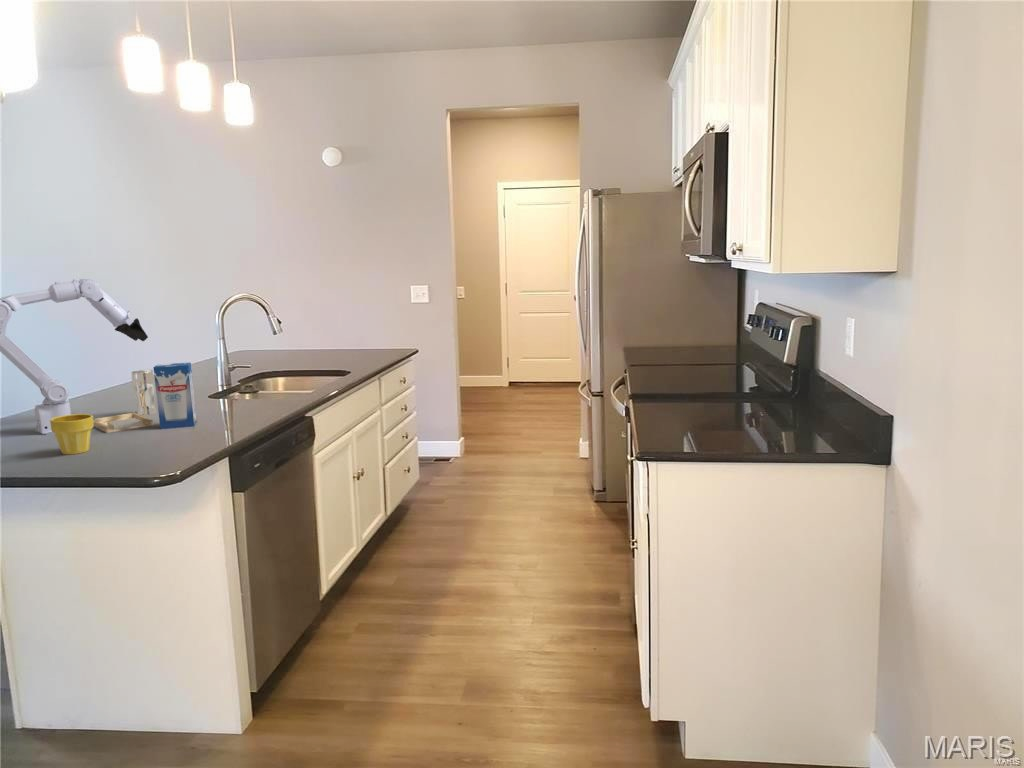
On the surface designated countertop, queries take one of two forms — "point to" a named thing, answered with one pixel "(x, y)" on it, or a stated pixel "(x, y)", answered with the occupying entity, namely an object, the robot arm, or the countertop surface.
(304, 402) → the countertop surface
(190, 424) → the milk carton
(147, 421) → the tray
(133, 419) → the cover plate
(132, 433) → the countertop surface
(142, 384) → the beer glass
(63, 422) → the plant pot
